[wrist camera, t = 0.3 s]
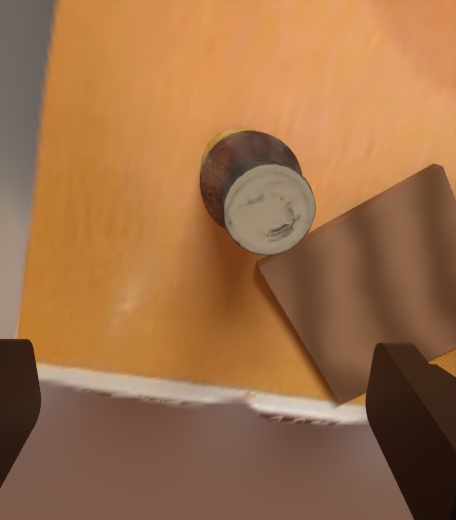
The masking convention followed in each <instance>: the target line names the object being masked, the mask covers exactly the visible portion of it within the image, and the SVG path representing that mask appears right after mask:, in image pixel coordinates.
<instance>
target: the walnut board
mask: <svg viewBox="0 0 456 520" xmlns="http://www.w3.org/2000/svg"><path fill="white" fill-rule="evenodd" d="M257 265H258V268H259V270H260V272H261V273H262V275H263V277H264V278H265V280H266V282H267V283H268V285H269V287H270V288H271V290H272V292H273V293H274V295H275V297H276V298H277V300H278V302H279V303H280V305H281V307H282V308H283V310H284V312H285V313H286V315H287V317H288V318H289V320H290V322H291V323H292V325H293V327H294V328H295V330H296V332H297V333H298V335H299V337H300V338H301V340H302V342H303V343H304V345H305V347H306V348H307V350H308V351H309V353H310V355H311V356H312V358H313V360H314V361H315V363H316V365H317V366H318V368H319V370H320V371H321V373H322V375H323V376H324V378H325V380H326V381H327V383H328V385H329V386H330V388H331V390H332V391H333V393H334V395H335V396H336V398H337V400H338V401H339V403H340V404H342V403H344V402H346V401H348V400H350V399H352V398H354V397H356V396H358V395H360V394H362V393H365V392H367V387H368V381H369V376H370V370H371V364H372V358H373V352H374V349H375V346H376V345H377V343H412V344H414V345H415V346H416V348H417V349H418V350H419V351H420V353H421V354H422V355H423V356H424V358H425V359H426V360H427V361H430V360H432V359H434V358H436V357H438V356H440V355H442V354H444V353H446V352H448V351H450V350H452V349H454V348H456V200H455V197H454V195H453V192H452V189H451V187H450V184H449V182H448V179H447V176H446V174H445V171H444V169H443V166H440V165H437V164H432V165H430V166H429V167H427V168H425V169H423V170H421V171H420V172H418V173H416V174H414V175H412V176H411V177H409V178H407V179H405V180H403V181H402V182H400V183H398V184H396V185H394V186H393V187H391V188H389V189H387V190H385V191H384V192H382V193H380V194H378V195H376V196H375V197H373V198H371V199H369V200H367V201H366V202H364V203H362V204H360V205H358V206H357V207H355V208H353V209H351V210H349V211H348V212H346V213H344V214H342V215H340V216H339V217H337V218H335V219H333V220H331V221H330V222H328V223H326V224H324V225H322V226H321V227H319V228H317V229H315V230H314V231H312V232H310V233H308V234H306V236H305V237H304V238H303V239H302V240H301V241H300V242H299V243H298V244H297V245H295V246H294V247H293V248H291V249H290V250H288V251H286V252H283V253H281V254H274V255H269V256H267V257H265V258H263V259H261V260H260V261H258V262H257Z"/></svg>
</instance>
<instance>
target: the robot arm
mask: <svg viewBox="0 0 456 520" xmlns="http://www.w3.org/2000/svg"><path fill="white" fill-rule="evenodd" d="M40 407H41V392H40V386H39V380H38V374H37V368H36V362H35V355H34V349H33V346H32V343H31V342H30V340H28V339H0V488H1V486H2V484H3V482H4V480H5V479H6V477H7V475H8V473H9V471H10V469H11V468H12V466H13V464H14V462H15V460H16V458H17V457H18V455H19V453H20V451H21V449H22V448H23V445H24V444H25V442H26V440H27V439H28V437H29V435H30V433H31V431H32V430H33V428H34V426H35V424H36V422H37V419H38V416H39V413H40ZM366 413H367V418H368V421H369V424H370V426H371V429H372V431H373V433H374V435H375V437H376V439H377V441H378V444H379V446H380V448H381V450H382V452H383V454H384V456H385V458H386V461H387V463H388V465H389V467H390V469H391V471H392V473H393V475H394V478H395V480H396V482H397V484H398V486H399V488H400V490H401V493H402V494H403V497H404V499H405V501H406V503H407V505H408V507H409V510H410V512H411V514H412V516H413V518H414V520H456V377H454V376H453V375H451V374H450V373H448V372H447V371H445V370H444V369H442V368H441V367H439V366H438V365H436V364H429V363H428V361H427V360H426V359H425V358H424V356H423V355H422V354H421V353H420V351H419V350H418V349H417V348H416V346H415V345H414V344H412V343H377V345H376V346H375V349H374V352H373V358H372V364H371V370H370V376H369V381H368V387H367V393H366Z"/></svg>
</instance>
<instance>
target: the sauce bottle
mask: <svg viewBox="0 0 456 520" xmlns="http://www.w3.org/2000/svg"><path fill="white" fill-rule="evenodd" d="M200 190H201V195H202V198H203V202H204V204H205V207H206V209H207V211H208V213H209V214H210V215H211V217H212V218H213V219H214V220H215V221H216V222H217V223H218V224H219V225H220V226H221V227H223V228H226V230H227V231H228V233H229V235H230V236H231V237H232V239H233V240H234V241H235V242H236V243H237V244H238V245H239V246H241V247H242V248H244V249H246V250H247V251H249V252H252V253H255V254H258V255H274V254H281V253H283V252H286V251H288V250H290V249H291V248H293V247H294V246H295V245H297V244H298V243H299V242H300V241H301V240H302V239H303V238H304V237H305V236H306V234H307V233H308V231H309V230H310V228H311V226H312V223H313V220H314V217H315V210H316V205H315V199H314V195H313V192H312V189H311V187H310V185H309V183H308V182H307V180H306V179H305V178H304V177H303V176H302V171H301V167H300V165H299V162H298V160H297V158H296V156H295V155H294V153H293V152H292V151H291V149H290V148H289V147H288V146H287V145H285V144H284V143H283V142H282V141H280V140H279V139H277V138H276V137H274V136H271V135H269V134H267V133H263V132H260V131H256V130H252V129H246V128H232V129H227V130H225V131H223V132H221V133H219V134H218V135H217V136H215V137H214V138H213V139H212V140H211V141H210V143H209V144H208V145H207V147H206V149H205V151H204V153H203V156H202V161H201V169H200Z"/></svg>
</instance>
